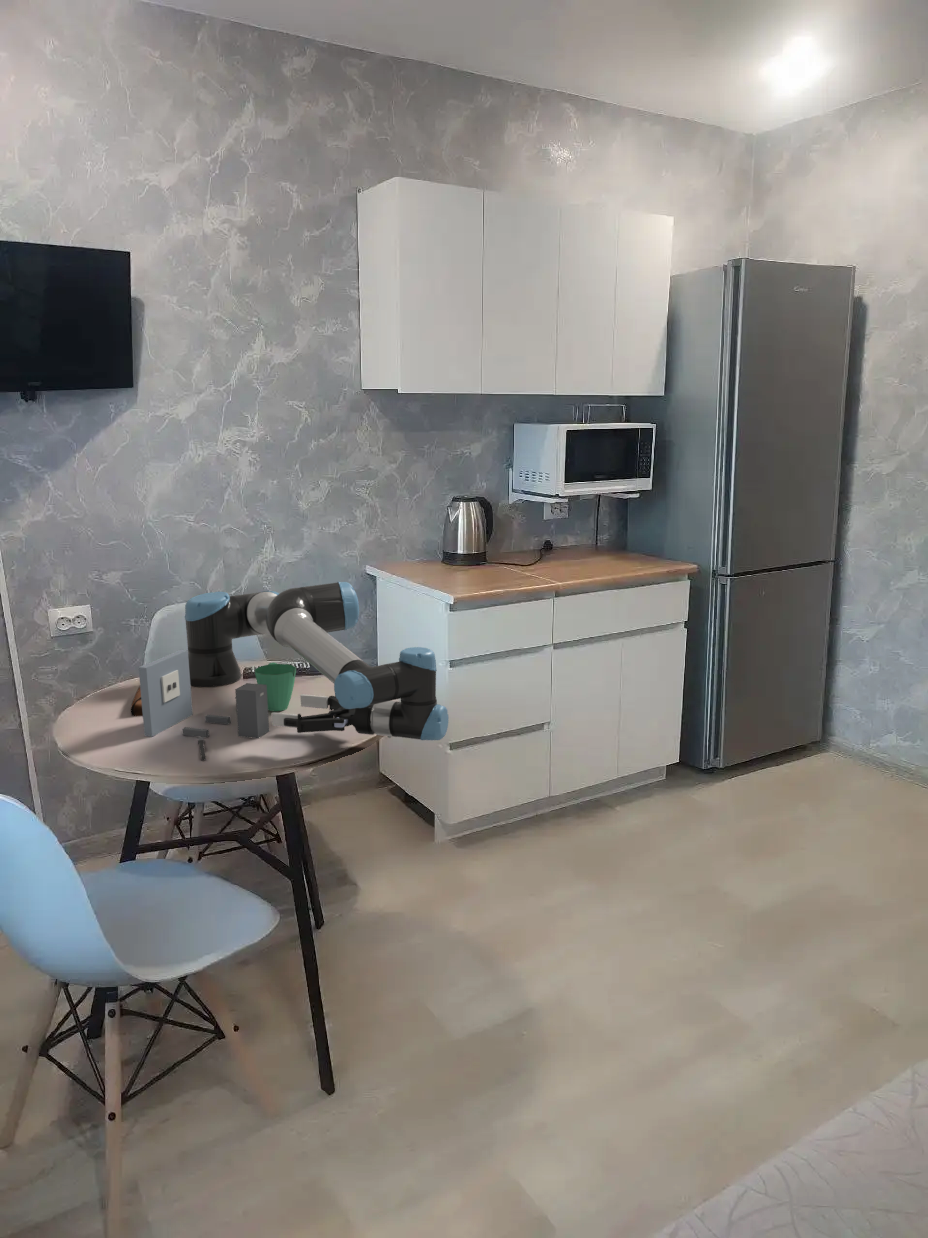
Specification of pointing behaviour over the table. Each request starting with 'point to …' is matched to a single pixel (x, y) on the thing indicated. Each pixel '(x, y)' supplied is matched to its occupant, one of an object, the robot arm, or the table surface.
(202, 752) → the grey long bar
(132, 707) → the sunglasses case
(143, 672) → the outlet board
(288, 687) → the mug
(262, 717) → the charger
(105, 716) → the table surface
